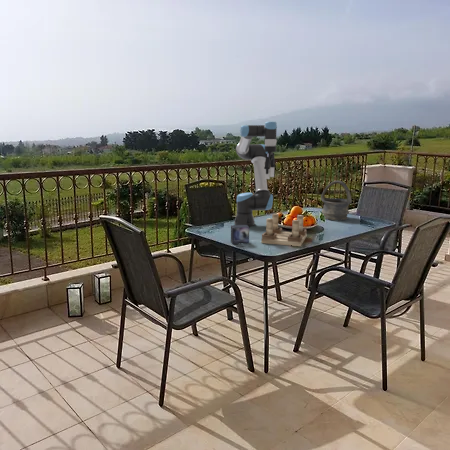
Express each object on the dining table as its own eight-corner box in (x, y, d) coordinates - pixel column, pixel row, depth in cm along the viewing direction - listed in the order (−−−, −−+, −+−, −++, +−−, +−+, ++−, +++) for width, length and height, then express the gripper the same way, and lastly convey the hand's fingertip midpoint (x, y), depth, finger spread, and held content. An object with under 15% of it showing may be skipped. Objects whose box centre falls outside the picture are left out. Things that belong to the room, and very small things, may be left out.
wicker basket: (338, 222, 304) (340, 182, 297) (314, 217, 322) (316, 180, 316) (356, 218, 317) (358, 180, 310) (332, 214, 335) (334, 178, 328)
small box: (232, 244, 244) (232, 227, 242) (230, 241, 250) (230, 225, 248) (249, 243, 246) (249, 226, 244) (246, 240, 252) (246, 224, 250)
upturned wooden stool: (270, 234, 269) (270, 212, 266) (306, 236, 261) (307, 215, 258) (261, 242, 247) (261, 219, 244) (300, 246, 239) (301, 222, 236)
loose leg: (296, 233, 261) (297, 214, 258) (302, 233, 260) (303, 215, 257) (295, 234, 257) (296, 216, 254) (302, 235, 256) (303, 216, 253)
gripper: (271, 146, 252) (271, 180, 257) (279, 145, 275) (279, 176, 280) (260, 146, 254) (259, 179, 259) (269, 145, 277) (268, 176, 282)
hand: (269, 178), depth 269 cm, fingers open, 13 cm apart
